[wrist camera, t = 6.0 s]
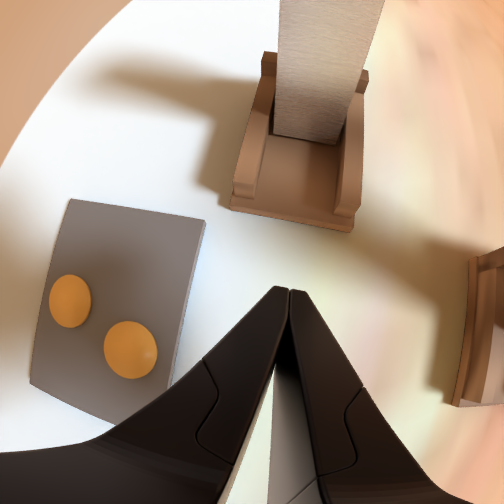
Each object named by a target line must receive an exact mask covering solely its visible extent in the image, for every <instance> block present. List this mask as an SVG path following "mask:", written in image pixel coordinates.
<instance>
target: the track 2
mask: <svg viewBox="0 0 504 504" xmlns="http://www.w3.org/2000/svg"><path fill="white" fill-rule="evenodd" d="M499 404H504V247H502V248H499V249H497V250H495V251H492V252H490V253H488V254H485V255H483V256H481V257H475V258H472V259H470V260H469V285H468V302H467V314H466V324H465V333H464V341H463V348H462V355H461V361H460V367H459V372H458V378H457V383H456V388H455V392H454V397H453V401H452V406H456V407H476V406H489V405H499Z"/></svg>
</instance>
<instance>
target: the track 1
mask: <svg viewBox="0 0 504 504" xmlns="http://www.w3.org/2000/svg"><path fill="white" fill-rule="evenodd" d="M277 55H278V53H275V52H267V51H264V54H263V57H262V60H261V78H260V81H259V85H258V88H257V92H256V95H255V99H254V103H253V106H252V110H251V113H250V117H249V121H248V124H247V128H246V132H245V135H244V139H243V143H242V147H241V150H240V154H239V158H238V162H237V166H236V170H235V173H234V177H233V187H234V188H233V192H232V197H231V201H230V209H231V210H232V211H238V212H244V213H249V214H255V215H261V216H266V217H272V218H277V219H282V220H288V221H293V222H298V223H304V224H309V225H314V226H319V227H324V228H329V229H334V230H339V231H344V232H349V233H350V231H351V230H352V229H353V227H354V216H355V212H356V211H357V210H358V208H359V207H360V206H361V192H362V174H363V148H364V92H365V90H366V87H367V85H368V82H369V75H368V71H367V70H363V69H362V72H361V75H360V78H359V81H358V84H357V87H356V90H355V92H354V95H353V98H352V101H351V104H350V106H349V109H348V112H347V115H346V118H345V120H344V123H343V126H342V128H341V131H340V134H339V137H338V139H337V142H336V145H330V144H325V143H320V142H315V141H310V140H305V139H300V138H294V137H289V136H283V135H277V134H273V130H274V112H275V94H276V75H277Z"/></svg>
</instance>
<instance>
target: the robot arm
mask: <svg viewBox="0 0 504 504" xmlns="http://www.w3.org/2000/svg"><path fill="white" fill-rule="evenodd" d="M274 367H275V369H274ZM273 370H274V384H273V408H272V429H271V449H270V467H269V484H268V499H267V504H473V503H470V502H468V501H465V500H463V499H460V498H458V497H455V496H453V495H451V494H448V493H447V492H445V491H443V490H442V489H441V488H439V487H438V486H437V485H436V484H435V483H434V482H433V481H432V480H431V479H430V478H429V477H428V476H427V475H426V473H425V472H424V471H423V469H422V468H421V467H420V465H419V464H418V463H417V461H416V460H415V459H414V458H413V456H412V455H411V454H410V452H409V451H408V450H407V448H406V447H405V446H404V444H403V443H402V442H401V440H400V439H399V438H398V436H397V435H396V434H395V432H394V431H393V430H392V428H391V427H390V425H389V424H388V423H387V421H386V420H385V418H384V417H383V415H382V414H381V412H380V411H379V409H378V407H377V406H376V404H375V403H374V401H373V400H372V398H371V396H370V395H369V393H368V391H367V390H366V388H365V387H363V383H362V381H361V380H360V378H359V376H358V375H357V373H356V372H355V370H354V368H353V367H352V365H351V363H350V362H349V360H348V358H347V357H346V355H345V353H344V352H343V350H342V348H341V347H340V345H339V344H338V342H337V340H336V339H335V337H334V335H333V334H332V332H331V331H330V329H329V327H328V326H327V324H326V322H325V321H324V319H323V318H322V316H321V314H320V313H319V311H318V310H317V308H316V306H315V305H314V303H313V302H312V300H311V298H310V297H309V295H308V294H307V292H305V291H302V290H296V289H291V290H290V291H289V289H288V288H285V287H280V286H273V287H272V288H271V289H270V290H269V291H268V292H267V293H266V294H265V295H264V296H263V297H262V298H261V299H260V300H259V301H258V302H257V303H256V304H255V305H254V307H253V308H252V309H251V310H250V311H249V312H248V313H247V314H246V315H245V316H244V317H243V318H242V319H241V320H240V321H239V322H238V323H237V324H236V325H235V326H234V327H233V328H232V329H231V330H230V331H229V332H228V333H227V334H226V335H225V336H224V337H223V338H222V339H221V340H220V341H219V342H218V343H217V344H216V345H215V346H214V347H213V348H212V349H211V350H210V351H209V352H208V353H207V354H206V355H205V356H204V357H203V358H202V360H200V361H199V362H198V363H197V364H196V365H195V366H194V367H193V368H192V369H191V370H190V371H188V372H187V373H186V374H185V375H184V376H183V377H182V378H181V379H180V380H178V381H177V382H176V383H175V384H174V385H173V386H171V387H170V388H169V389H167V390H166V391H165V392H163V393H162V394H161V395H160V396H158V397H157V398H156V399H154V400H153V401H151V402H150V403H148V404H147V405H146V406H144V407H143V408H141V409H140V410H138V411H137V412H135V413H134V414H133V415H131V416H130V417H128V418H127V419H125V420H124V421H122V422H121V423H119V424H118V425H116V426H115V427H113V428H112V429H110V430H109V431H107V432H105V433H104V434H102V435H100V436H98V437H96V438H93V439H91V440H89V441H85V442H82V443H78V444H73V445H67V446H60V447H53V448H45V449H37V450H27V451H16V452H1V453H0V504H225V503H226V501H227V498H228V496H229V493H230V491H231V488H232V486H233V483H234V481H235V478H236V476H237V473H238V470H239V468H240V465H241V462H242V460H243V457H244V454H245V452H246V449H247V446H248V444H249V441H250V438H251V435H252V433H253V430H254V427H255V424H256V421H257V418H258V416H259V413H260V410H261V407H262V404H263V401H264V398H265V395H266V392H267V389H268V386H269V383H270V380H271V377H272V374H273Z"/></svg>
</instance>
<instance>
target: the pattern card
mask: <svg viewBox="0 0 504 504" xmlns="http://www.w3.org/2000/svg"><path fill="white" fill-rule="evenodd" d="M205 227H206V222H205V220H201V219H196V218H190V217H184V216H178V215H172V214H166V213H160V212H154V211H148V210H141V209H135V208H129V207H123V206H116V205H110V204H103V203H97V202H90V201H83V200H77V199H71V200H70V203H69V206H68V208H67V211H66V214H65V217H64V220H63V223H62V226H61V229H60V232H59V236H58V239H57V242H56V246H55V249H54V253H53V256H52V260H51V264H50V267H49V271H48V275H47V279H46V284H45V288H44V292H43V297H42V302H41V307H40V312H39V317H38V323H37V329H36V335H35V341H34V348H33V356H32V365H31V374H30V384H31V385H33V386H35V387H37V388H39V389H40V390H42V391H44V392H46V393H48V394H50V395H51V396H53V397H55V398H57V399H59V400H61V401H63V402H65V403H67V404H69V405H71V406H73V407H75V408H78V409H80V410H82V411H84V412H86V413H88V414H91V415H93V416H95V417H98V418H100V419H102V420H105V421H107V422H109V423H112V424H114V425H118V424H119V423H121V422H122V421H124V420H125V419H127V418H128V417H130V416H131V415H133V414H134V413H135V412H137V411H138V410H140V409H141V408H143V407H144V406H146V405H147V404H148V403H150V402H151V401H153V400H154V399H156V398H157V397H158V396H160V395H161V394H162V393H163V392H165V391H166V390H167V389H169V388H170V386H171V380H172V375H173V370H174V365H175V359H176V354H177V349H178V344H179V340H180V335H181V330H182V325H183V320H184V316H185V311H186V307H187V302H188V298H189V293H190V289H191V284H192V280H193V276H194V272H195V267H196V263H197V259H198V255H199V251H200V247H201V242H202V238H203V234H204V230H205Z"/></svg>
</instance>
